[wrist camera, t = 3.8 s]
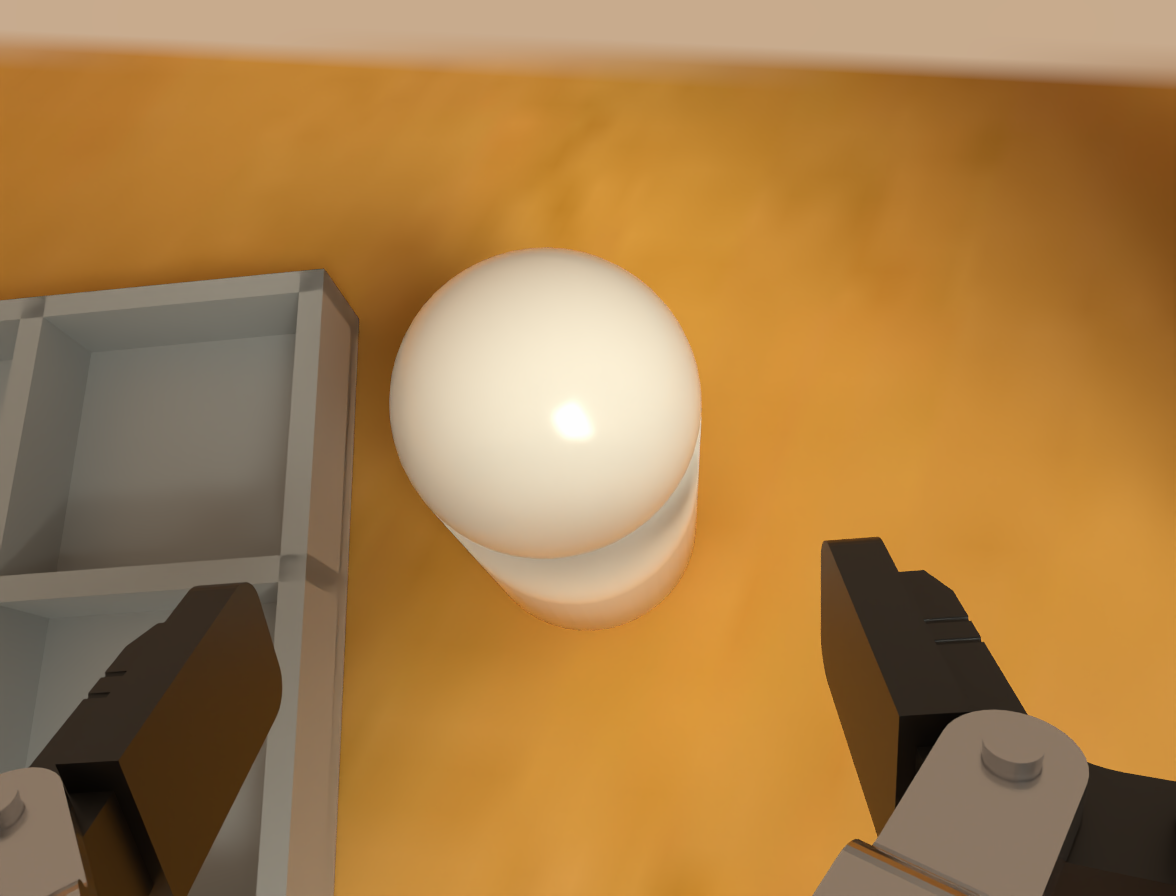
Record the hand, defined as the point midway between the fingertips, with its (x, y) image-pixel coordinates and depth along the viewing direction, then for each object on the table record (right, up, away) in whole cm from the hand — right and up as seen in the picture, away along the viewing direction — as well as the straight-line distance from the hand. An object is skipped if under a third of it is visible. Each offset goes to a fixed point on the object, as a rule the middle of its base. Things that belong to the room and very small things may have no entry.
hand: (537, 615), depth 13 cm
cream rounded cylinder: (+1, +1, +9) cm, 9 cm away
